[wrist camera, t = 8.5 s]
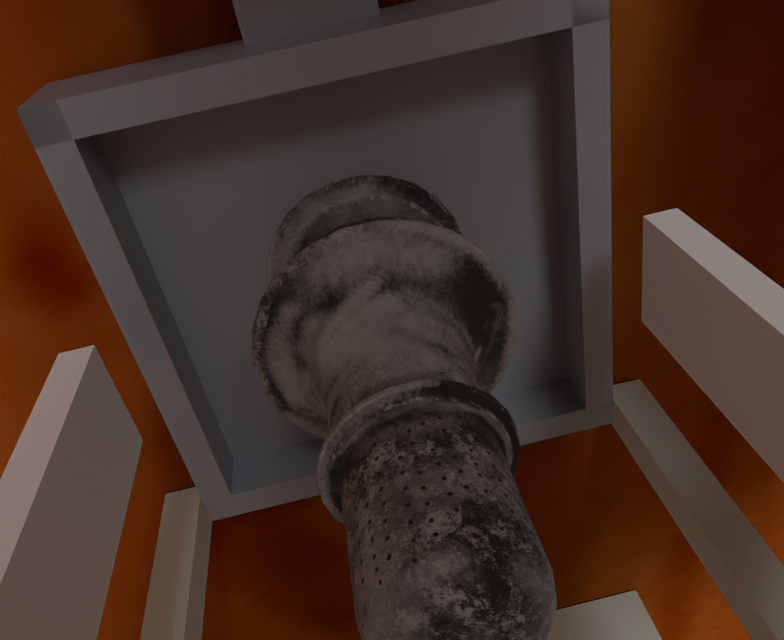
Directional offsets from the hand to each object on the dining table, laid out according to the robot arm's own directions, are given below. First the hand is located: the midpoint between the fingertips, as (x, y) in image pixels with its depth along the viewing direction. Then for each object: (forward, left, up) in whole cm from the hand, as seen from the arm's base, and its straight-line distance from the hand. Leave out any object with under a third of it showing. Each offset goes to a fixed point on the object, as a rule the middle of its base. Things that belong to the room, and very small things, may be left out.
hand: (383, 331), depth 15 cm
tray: (-2, 0, -4) cm, 5 cm away
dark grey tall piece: (0, 0, -4) cm, 4 cm away
